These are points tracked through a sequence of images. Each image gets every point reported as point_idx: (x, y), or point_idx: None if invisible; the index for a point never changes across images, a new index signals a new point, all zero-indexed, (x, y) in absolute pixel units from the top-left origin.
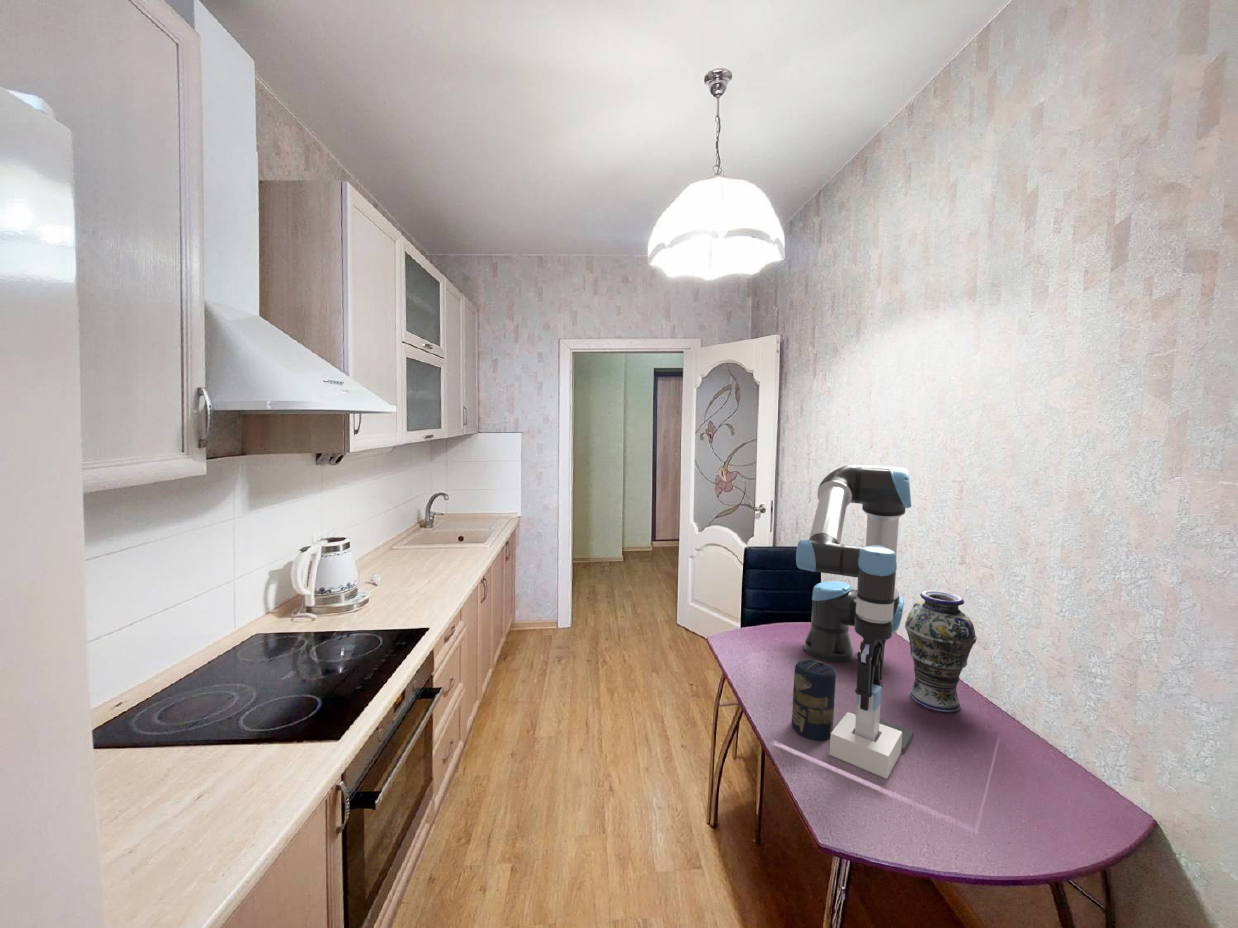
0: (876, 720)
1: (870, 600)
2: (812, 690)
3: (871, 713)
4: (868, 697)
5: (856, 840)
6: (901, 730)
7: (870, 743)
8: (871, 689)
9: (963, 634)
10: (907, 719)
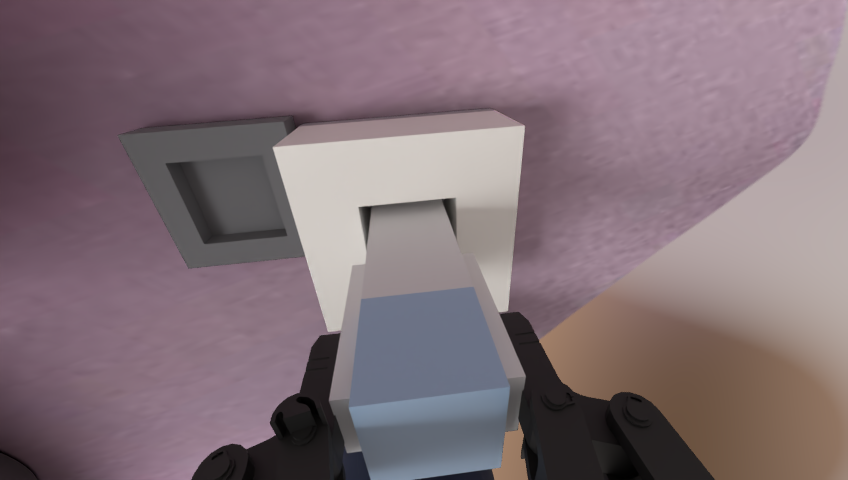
0: (430, 249)
1: None
2: (492, 474)
3: (480, 287)
4: (627, 392)
5: (789, 83)
6: (167, 171)
7: (479, 207)
8: (569, 442)
9: None
10: (25, 187)
